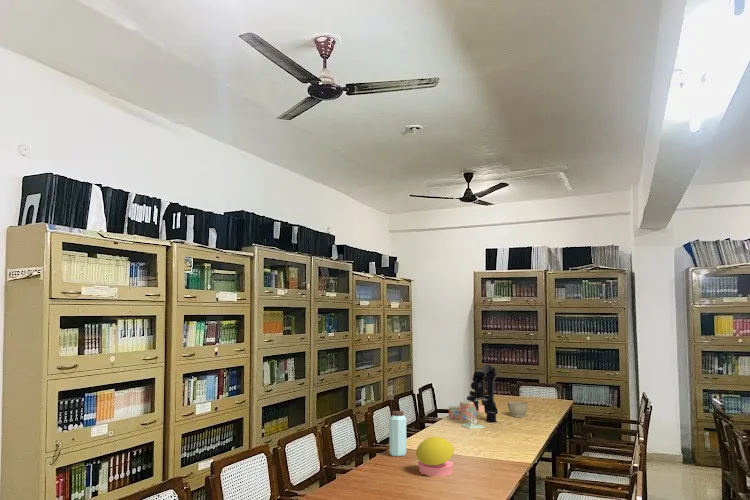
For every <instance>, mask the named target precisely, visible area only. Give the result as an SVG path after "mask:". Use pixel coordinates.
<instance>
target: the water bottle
mask: <svg viewBox="0 0 750 500" xmlns="http://www.w3.org/2000/svg"><path fill="white" fill-rule="evenodd" d="M404 413H405V412H404V411H401V410H393V411H392V415H391V416H390V417H389V427H388V428H389V434H388V435H389V442H388V443H389V444H388V445H389V446H388V447H389V455H390V456H392V457H395V456H402V457H404V456H406V454H407V418H406V416H405V415H404Z"/></svg>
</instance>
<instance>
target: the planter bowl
mask: <svg viewBox="0 0 750 500" xmlns="http://www.w3.org/2000/svg"><path fill="white" fill-rule="evenodd" d="M528 405H529V403H528V402H526V401H517V400H515V401H513V400H511V401H507V408H508V409H507V410H508V411H509V413H510V414H511V416H512V417H514V418H524V417H525V414H526V413H527V410H528V409H529V408H528V407H529V406H528Z"/></svg>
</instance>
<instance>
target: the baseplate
mask: <svg viewBox="0 0 750 500" xmlns="http://www.w3.org/2000/svg"><path fill="white" fill-rule="evenodd" d="M461 427H463V428H465V429H468V430H473V429H474V430H477V429H484V428H485V426H483V425H482V424H479V423H477V425H469V424H468V422H465V423H461Z"/></svg>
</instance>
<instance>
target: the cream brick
mask: <svg viewBox="0 0 750 500" xmlns="http://www.w3.org/2000/svg"><path fill="white" fill-rule="evenodd" d="M467 420H468V422H467V423H468V424H469V425H477V424H478V422H477V421H478V418H477V419H474V418H470V419H467Z"/></svg>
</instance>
